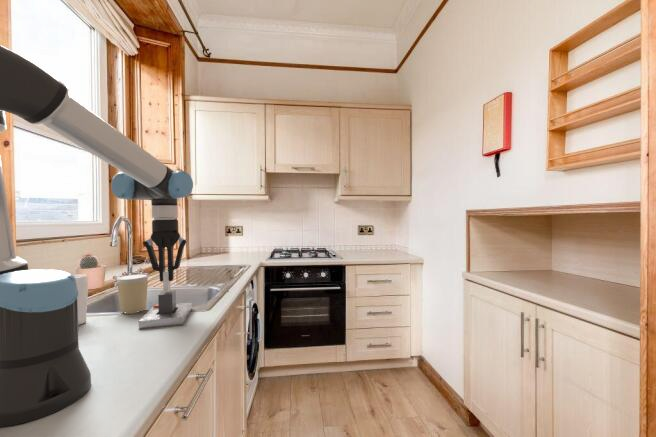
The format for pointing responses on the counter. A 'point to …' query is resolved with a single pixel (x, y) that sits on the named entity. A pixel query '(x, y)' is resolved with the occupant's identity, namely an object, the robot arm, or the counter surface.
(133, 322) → the counter surface
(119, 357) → the counter surface
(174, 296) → the plug
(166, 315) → the socket plate
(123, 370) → the counter surface
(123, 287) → the coffee cup
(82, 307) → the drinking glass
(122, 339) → the counter surface
